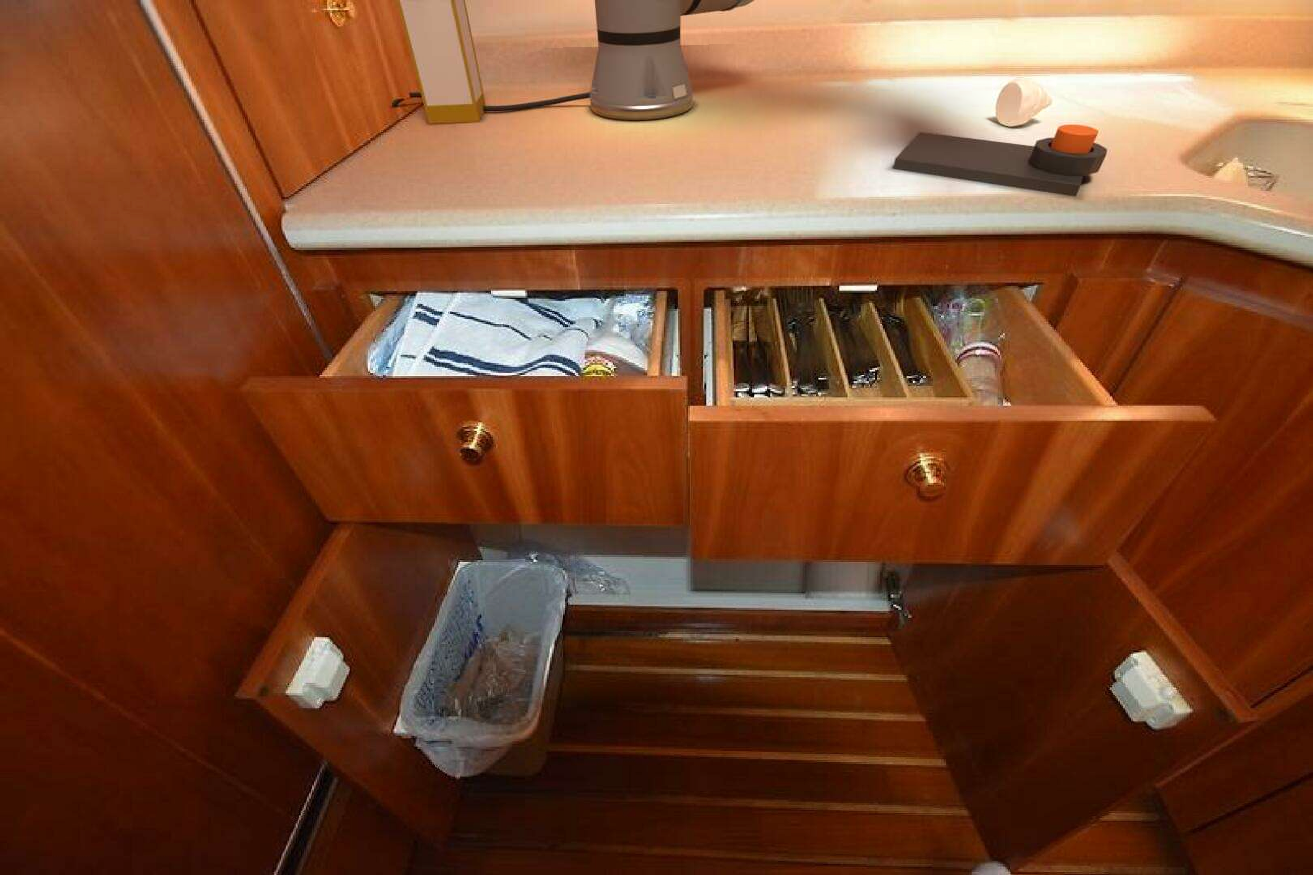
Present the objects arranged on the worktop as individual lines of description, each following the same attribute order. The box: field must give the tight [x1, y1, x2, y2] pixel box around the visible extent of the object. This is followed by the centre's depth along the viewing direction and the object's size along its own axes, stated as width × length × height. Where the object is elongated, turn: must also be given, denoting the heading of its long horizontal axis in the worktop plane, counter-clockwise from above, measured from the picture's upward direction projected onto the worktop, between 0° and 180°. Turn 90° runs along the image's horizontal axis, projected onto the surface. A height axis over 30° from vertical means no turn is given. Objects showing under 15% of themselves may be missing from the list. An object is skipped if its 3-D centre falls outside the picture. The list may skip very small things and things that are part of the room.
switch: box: [1050, 124, 1099, 154], centre depth 60 cm, size 4×4×2 cm
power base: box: [892, 131, 1108, 198], centre depth 64 cm, size 19×11×3 cm, turn 59°
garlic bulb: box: [995, 76, 1053, 127], centre depth 75 cm, size 6×6×5 cm
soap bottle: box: [395, 0, 487, 125], centre depth 77 cm, size 7×13×24 cm, turn 4°
